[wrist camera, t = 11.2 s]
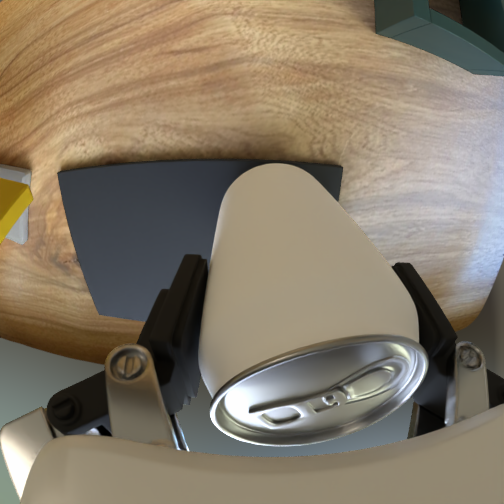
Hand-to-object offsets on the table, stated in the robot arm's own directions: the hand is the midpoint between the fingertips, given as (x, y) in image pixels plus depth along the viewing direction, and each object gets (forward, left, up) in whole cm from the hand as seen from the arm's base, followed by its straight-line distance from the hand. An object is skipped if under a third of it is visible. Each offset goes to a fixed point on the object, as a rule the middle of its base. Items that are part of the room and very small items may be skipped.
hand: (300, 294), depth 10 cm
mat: (+7, +4, -9) cm, 12 cm away
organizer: (-9, -16, -9) cm, 21 cm away
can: (+1, 0, -7) cm, 8 cm away
